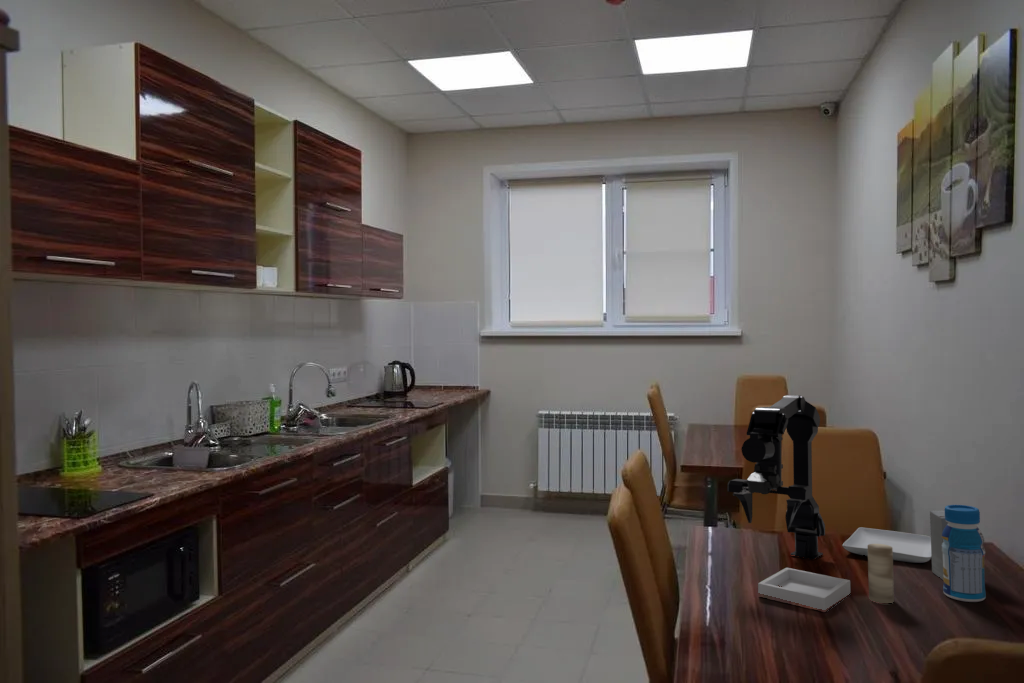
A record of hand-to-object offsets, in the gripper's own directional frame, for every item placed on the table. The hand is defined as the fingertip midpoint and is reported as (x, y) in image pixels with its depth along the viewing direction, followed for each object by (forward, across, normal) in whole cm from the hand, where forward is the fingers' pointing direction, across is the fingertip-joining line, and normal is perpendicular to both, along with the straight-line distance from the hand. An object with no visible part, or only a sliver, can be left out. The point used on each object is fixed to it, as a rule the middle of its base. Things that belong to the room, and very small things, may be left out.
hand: (768, 525), depth 176 cm
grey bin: (+14, +9, -2) cm, 17 cm away
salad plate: (+11, +18, +45) cm, 50 cm away
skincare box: (+12, +34, +31) cm, 47 cm away
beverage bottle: (+13, +38, +17) cm, 44 cm away
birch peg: (+14, +24, +5) cm, 28 cm away
